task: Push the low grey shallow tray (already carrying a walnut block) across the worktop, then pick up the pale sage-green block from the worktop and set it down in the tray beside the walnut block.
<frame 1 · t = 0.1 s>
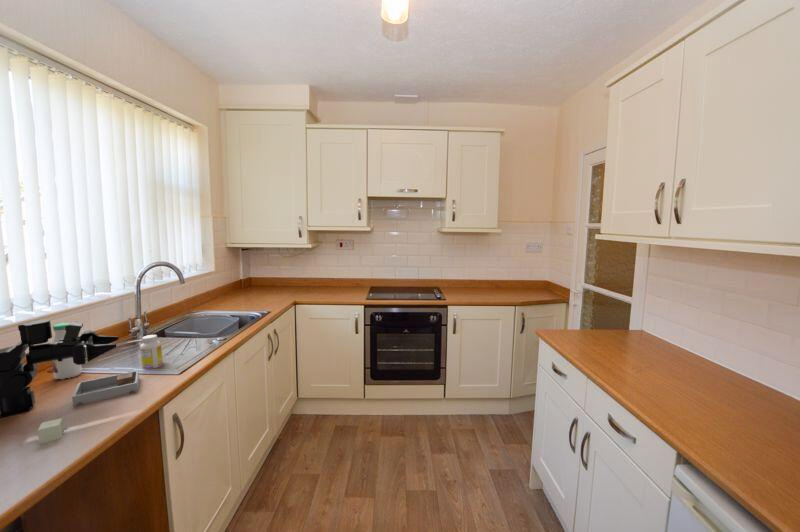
hand: (117, 341, 118), 17 cm above the counter, tool horizontal, fingers open, 9 cm apart
sage block: (52, 437, 92), on the counter
supplement bottle: (153, 368, 137), on the counter
milk bottle: (68, 376, 130), on the counter
grey shallow tray: (108, 387, 116), point 2 cm above the counter, slide at 0.0 cm, touching walnut block
walnut block: (125, 387, 118), point 1 cm above the counter, touching grey shallow tray
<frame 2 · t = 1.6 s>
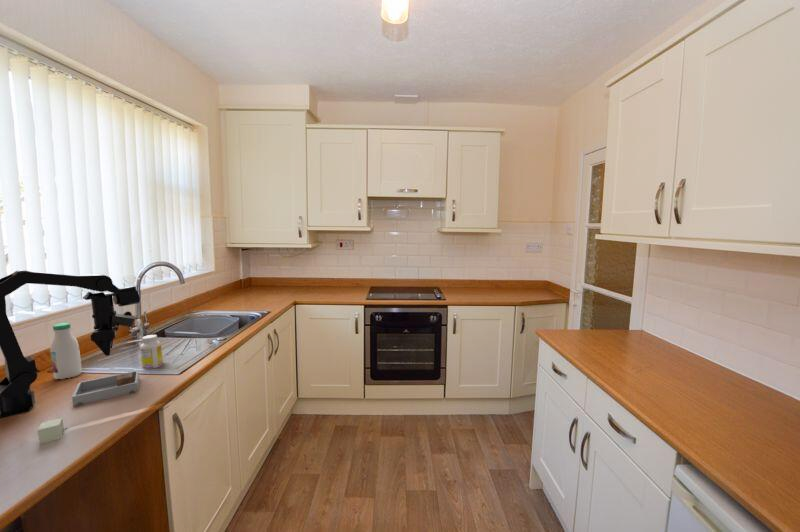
hand: (109, 351, 123), 11 cm above the counter, tool pointing down, fingers open, 8 cm apart
nothing on the counter moved.
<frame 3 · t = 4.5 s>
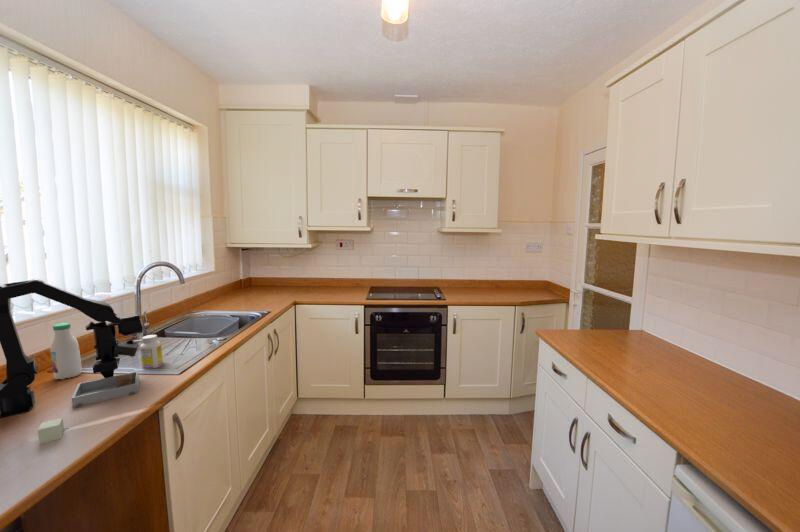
hand: (110, 382, 121), 1 cm above the counter, tool pointing down, fingers closed
grey shallow tray: (108, 388, 115), point 2 cm above the counter, slide at 0.9 cm, touching gripper, walnut block
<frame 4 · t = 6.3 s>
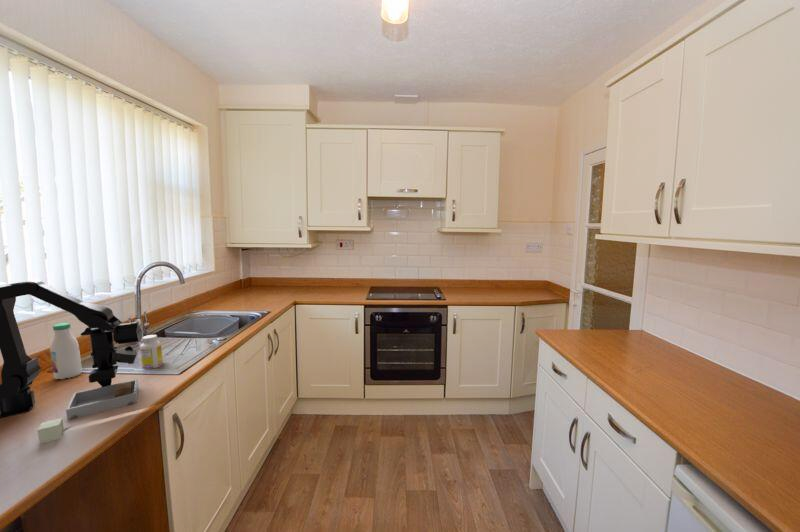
hand: (108, 390, 115), 2 cm above the counter, tool pointing down, fingers closed
grey shallow tray: (105, 398, 108), point 2 cm above the counter, slide at 8.9 cm, touching gripper, walnut block
walnut block: (124, 397, 111), point 1 cm above the counter, touching grey shallow tray
everything else where it was.
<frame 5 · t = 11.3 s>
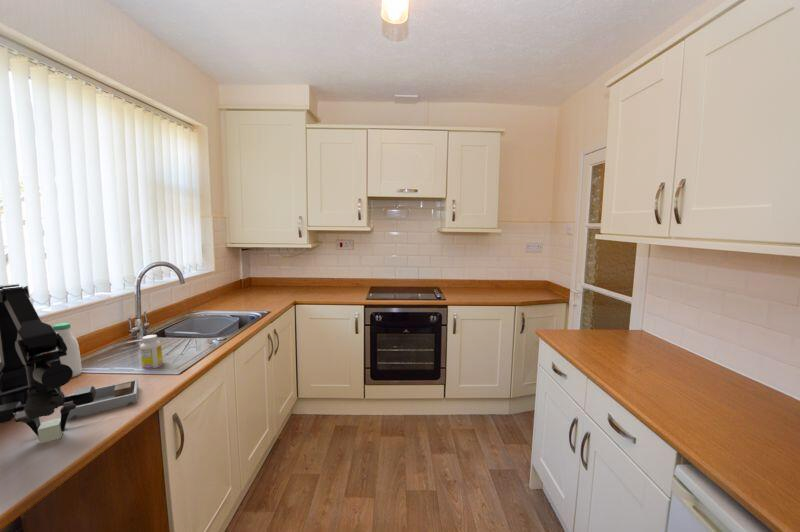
hand: (51, 433, 92), 1 cm above the counter, tool pointing down, fingers closed on sage block, 4 cm apart
sage block: (52, 437, 92), on the counter, touching gripper
grey shallow tray: (105, 398, 108), point 2 cm above the counter, slide at 9.0 cm, touching walnut block
everything else where it was.
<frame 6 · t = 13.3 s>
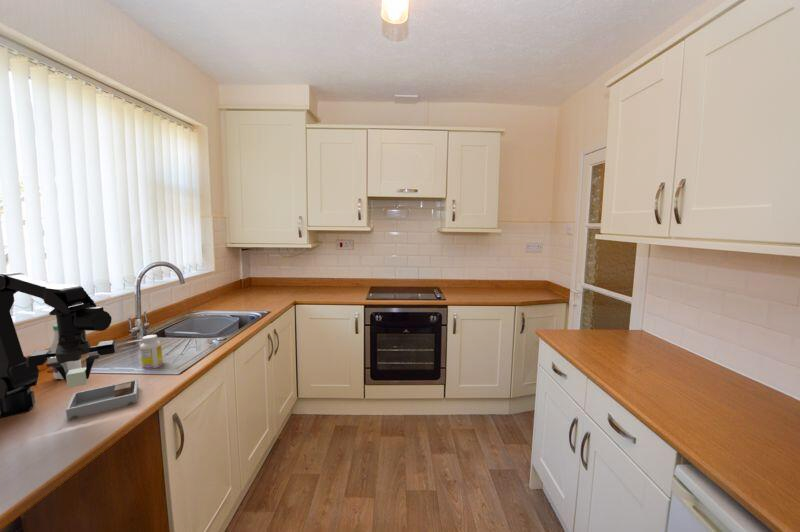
hand: (78, 380, 102), 11 cm above the counter, tool pointing down, fingers closed on sage block, 4 cm apart
sage block: (78, 383, 102), point 10 cm above the counter, touching gripper
everything else where it was.
when the fingers open (4 cm above the counter, at t = 15.0 s): sage block drops 3 cm, resting on grey shallow tray.
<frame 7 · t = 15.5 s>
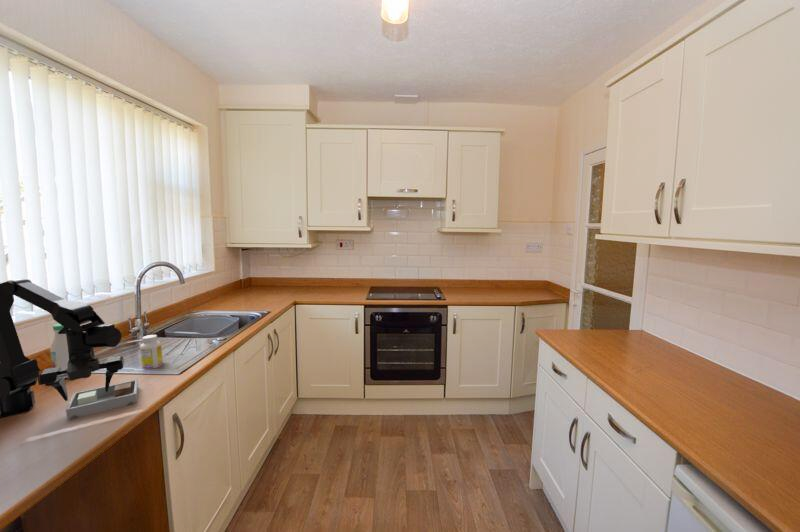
hand: (87, 395, 105), 4 cm above the counter, tool pointing down, fingers open, 9 cm apart
sage block: (88, 406, 106), point 1 cm above the counter, touching grey shallow tray
grey shallow tray: (105, 398, 108), point 2 cm above the counter, slide at 9.0 cm, touching sage block, walnut block
everything else where it was.
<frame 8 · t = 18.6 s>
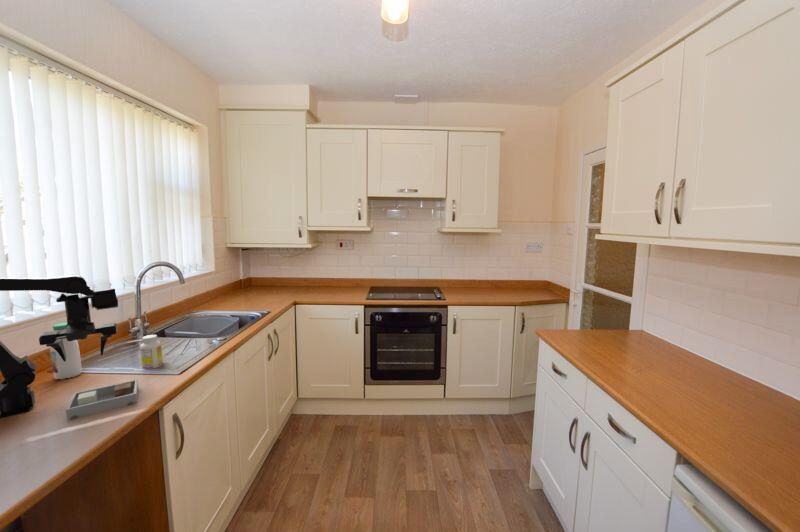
hand: (84, 357, 116), 12 cm above the counter, tool pointing down, fingers open, 9 cm apart
nothing on the counter moved.
at the end: grey shallow tray slide at 9.0 cm; sage block inside the target area on the grey shallow tray (1.1 cm from its centre), point 0.9 cm above the grey shallow tray's base; walnut block inside the target area on the grey shallow tray (0.2 cm from its centre), point 0.9 cm above the grey shallow tray's base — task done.
